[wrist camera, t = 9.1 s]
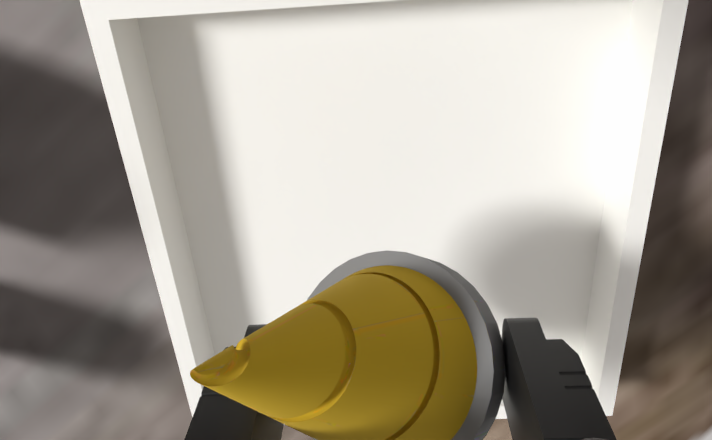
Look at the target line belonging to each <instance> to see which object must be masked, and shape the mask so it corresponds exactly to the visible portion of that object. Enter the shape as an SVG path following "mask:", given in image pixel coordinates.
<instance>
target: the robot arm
mask: <svg viewBox="0 0 712 440" xmlns="http://www.w3.org/2000/svg"><path fill="white" fill-rule="evenodd" d="M265 325H267V324H258V325H249V326H248V327H247V330H246V333H245V336H244V338H245V337H247V336H248V335H250V334H252V333H253V332H255V331H257V330H258V329H260V328H262V327H263V326H265ZM502 342H503V348H504V361H505V385H504V394H503V397H502V399H503V403H504V407H505V411H506V415H507V419H508V423H509V427H510V431H511V435H512V439H513V440H616V438H615V435H614V433H613V431H612V429H611V426H610V424H609V422H608V420H607V417H606V415H605V413H604V411H603V408H602V406H601V404H600V402H599V399H598V397H597V395H596V393H595V391H594V389H592V384H591V382H590V379H589V377H588V375H586V370H585V368H584V366H583V364H582V361H581V359H580V357H579V355H578V353H577V352H576V351H574V350H573V349H572V348H571V347H570V346H569V345H568V344H567V343H566V342H565V341H564V340H563V339H546V338H545V335H544V333H543V330H542V327H541V325H540V322H539V320H538V319H537V318H505V319H504V320H503V326H502ZM227 348H228V347H226V348H225V349H227ZM234 348H236V347H234ZM225 349H224V350H225ZM283 425H284V424H283V423H281V422H279V421H277V420H274V419H272V418H270V417H268V416H266V415H264V414H262V413H260V412H258V411H256V410H253V409H251V408H249V407H247V406H245V405H243V404H241V403H239V402H237V401H234V400H232V399H230V398H228V397H226V396H224V395H222V394H220V393H218V392H216V391H213V390H211V389H209V388H207V387H205V386H204V387H203V390H202V393H201V396H200V398H199V401H198V404H197V407H196V409H195V412H194V415H193V418H192V421H191V423H190V426H189V429H188V432H187V435H186V437H185V440H281V436H282V430H283Z"/></svg>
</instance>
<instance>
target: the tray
mask: <svg viewBox="0 0 712 440" xmlns="http://www.w3.org/2000/svg"><path fill="white" fill-rule="evenodd" d="M80 3H81V7H82V11H83V15H84V18H85V22H86V26H87V29H88V33H89V37H90V40H91V44H92V48H93V51H94V55H95V59H96V63H97V66H98V70H99V74H100V77H101V81H102V85H103V88H104V92H105V96H106V99H107V103H108V107H109V111H110V114H111V118H112V122H113V125H114V129H115V133H116V136H117V140H118V144H119V147H120V151H121V155H122V159H123V162H124V166H125V170H126V173H127V177H128V181H129V184H130V188H131V192H132V195H133V199H134V203H135V207H136V210H137V214H138V218H139V221H140V225H141V229H142V232H143V236H144V240H145V243H146V247H147V251H148V255H149V258H150V262H151V266H152V269H153V273H154V277H155V280H156V284H157V288H158V291H159V295H160V299H161V303H162V306H163V310H164V314H165V317H166V321H167V325H168V328H169V332H170V336H171V339H172V343H173V347H174V351H175V354H176V358H177V362H178V365H179V369H180V373H181V376H182V380H183V384H184V387H185V391H186V395H187V399H188V402H189V406H190V410H191V413H192V417H193V415H194V412H195V409H196V407H197V404H198V401H199V398H200V396H201V393H202V390H203V387H204V386H203V385H201V384H199V383H197V382H195V381H194V380H193V379H192V378H191V376H190V371H191V370H192V369H194V368H195V367H197V366H198V365H200V364H202V363H203V362H205V361H207V360H208V359H210V358H212V357H213V356H215V355H217V354H218V353H220V352H222V351H223V350H224V349H225V348H226V347H230V346H232V345H233V346H234V347H236V346H237V344H238V342H239V341H240V340H242V339H243V338H244V336H245V333H246V330H247V327H248V326H249V325H258V324H268V323H270V322H272V321H274V320H275V319H277V318H279V317H280V316H282V315H284V314H285V313H287V312H289V311H290V310H292V309H294V308H295V307H297V306H299V305H300V304H302V303H304V302H305V301H307V299H308V297H309V296H310V295H311V293H312V292H313V291H314V289H315V288H316V287H317V285H318V284H319V283H320V282H321V281H322V280H323V279H324V278H325V277H326V276H327V275H328V274H329V273H330V272H332V271H333V270H334V269H335V268H337V267H338V266H340V265H342V264H343V263H345V262H347V261H348V260H350V259H352V258H355V257H358V256H361V255H364V254H366V253H371V252H379V251H386V250H388V251H399V252H408V253H411V254H414V255H417V256H421V257H424V258H427V259H430V260H433V261H437V262H440V263H442V264H444V265H445V266H447V267H449V268H451V269H453V270H454V271H456V272H458V273H459V274H460V275H461V276H462V277H464V278H465V279H466V280H467V281H468V282H469V283H471V284H472V285H473V286H474V287H475V289H476V290H477V291H478V292H479V294H480V295H481V296H482V298H483V299H484V300H485V301H486V303H487V304H488V306H489V308H490V310H491V312H492V314H493V316H494V318H495V320H496V322H497V324H498V328H499V331H500V335H501V338H502V326H503V320H504V319H505V318H537V319H538V320H539V322H540V325H541V327H542V330H543V333H544V335H545V338H546V339H563V340H564V341H565V342H566V343H567V344H568V345H569V346H570V347H571V348H572V349H573V350H574V351H576V352H577V353H578V355H579V357H580V359H581V361H582V364H583V366H584V368H585V370H586V375H588V377H589V379H590V382H591V384H592V389H594V391H595V393H596V395H597V397H598V399H599V402H600V404H601V406H602V408H603V411H604V413H605V415H606V416H612V415H613V409H614V404H615V398H616V393H617V387H618V382H619V376H620V371H621V366H622V360H623V355H624V349H625V344H626V338H627V333H628V327H629V322H630V317H631V311H632V306H633V300H634V295H635V289H636V284H637V278H638V273H639V267H640V262H641V257H642V251H643V246H644V240H645V235H646V229H647V224H648V218H649V213H650V208H651V202H652V197H653V191H654V186H655V180H656V175H657V169H658V164H659V158H660V153H661V148H662V142H663V137H664V131H665V126H666V120H667V115H668V109H669V104H670V99H671V93H672V88H673V82H674V77H675V71H676V66H677V60H678V55H679V49H680V44H681V39H682V33H683V28H684V22H685V17H686V11H687V6H688V0H80ZM495 419H507V415H506V411H505V407H504V403H503V399H502V401H501V404H500V407H499V410H498V414H497V416H496V418H495ZM284 425H285V424H284Z"/></svg>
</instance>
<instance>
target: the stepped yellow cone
mask: <svg viewBox="0 0 712 440" xmlns="http://www.w3.org/2000/svg"><path fill="white" fill-rule="evenodd" d="M190 376H191V378H192V379H193V380H194V381H195V382H197V383H199V384H201V385H203V386H205V387H207V388H209V389H211V390H213V391H216V392H218V393H220V394H222V395H224V396H226V397H228V398H230V399H232V400H234V401H237V402H239V403H241V404H243V405H245V406H247V407H249V408H251V409H253V410H256V411H258V412H260V413H262V414H264V415H266V416H268V417H270V418H272V419H274V420H277V421H279V422H281V423H283V424H285V425H287V426H289V427H291V428H293V429H296V430H298V431H300V432H302V433H304V434H306V435H308V436H310V437H312V438H313V439H314V440H483V439H484V437H485V436H486V435H487V433H488V431H489V429H490V427H491V426H492V424H493V422H494V420H495V418H496V416H497V414H498V410H499V407H500V404H501V401H502V397H503V394H504V385H505V361H504V348H503V342H502V338H501V335H500V331H499V328H498V324H497V322H496V320H495V318H494V316H493V314H492V312H491V310H490V308H489V306H488V304H487V303H486V301H485V300H484V299H483V298H482V296H481V295H480V294H479V292H478V291H477V290H476V289H475V287H474V286H473V285H472V284H471V283H469V282H468V281H467V280H466V279H465V278H464V277H462V276H461V275H460V274H459V273H458V272H456V271H454V270H453V269H451V268H449V267H447V266H445V265H444V264H442V263H440V262H437V261H433V260H430V259H427V258H424V257H421V256H417V255H414V254H411V253H408V252H399V251H388V250H386V251H379V252H371V253H366V254H364V255H361V256H358V257H355V258H352V259H350V260H348V261H347V262H345V263H343V264H342V265H340V266H338V267H337V268H335V269H334V270H333V271H332V272H330V273H329V274H328V275H327V276H326V277H325V278H324V279H323V280H322V281H321V282H320V283H319V284H318V285H317V287H316V288H315V289H314V291H313V292H312V293H311V295H310V296H309V297H308V299H307V301H305V302H304V303H302V304H300V305H299V306H297V307H295V308H294V309H292V310H290V311H289V312H287V313H285V314H284V315H282V316H280V317H279V318H277V319H275V320H274V321H272V322H270V323H268V324H267V325H265V326H263V327H262V328H260V329H258V330H257V331H255V332H253V333H252V334H250V335H248V336H247V337H245V338H243V339H242V340H240V341H239V342H238V344H237V346H236V348H234V346H233V345H232V346H230V347H228V348H227V349H225V350H223V351H222V352H220V353H218V354H217V355H215V356H213V357H212V358H210V359H208V360H207V361H205V362H203V363H202V364H200V365H198V366H197V367H195V368H194V369H192V370H191V371H190Z"/></svg>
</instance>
